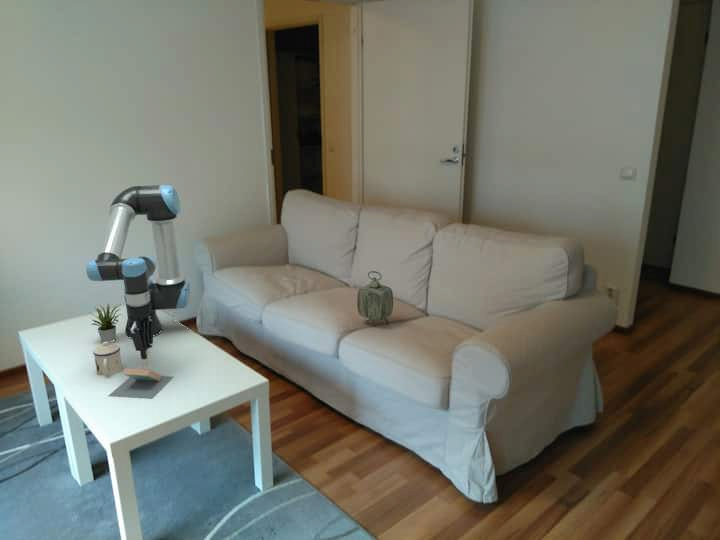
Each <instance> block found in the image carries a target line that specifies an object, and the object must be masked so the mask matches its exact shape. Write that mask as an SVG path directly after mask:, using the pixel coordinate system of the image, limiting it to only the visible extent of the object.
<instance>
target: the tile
mask: <svg viewBox="0 0 720 540" xmlns="http://www.w3.org/2000/svg"><path fill="white" fill-rule="evenodd" d="M123 375H125V376H126V377H128V378H129V377H131V378H133V379H135V380H143V381H160V378H161V376H162V375H160V374H159V373H156V372H155V371H153V370H150V369H144V368H143V369H142V368H124V372H123Z"/></svg>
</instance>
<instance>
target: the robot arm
mask: <svg viewBox="0 0 720 540" xmlns="http://www.w3.org/2000/svg"><path fill="white" fill-rule="evenodd" d="M180 205H181V202H180V199H179V196H178V192H177V190H176V188H175V187H173V186H172V185H163V184H158V185H157V184H156V185H134V186H130V187H127V188H125V189H124V190H122V191H121V192H120V193H119V194H118V195H117V196H116V197H115V198H114V199H113V200H112V202H111V204H110V207H109V215H110V217H109V219H108V223H107V226H106V230H105V234H104V236H103V238H102V242H101V246H100V249H99V252H98V256H97V258H96V259H91V260H89V261H88V262H87V263H86V269H85V270H86V275H87V278H88V279H89V280H90V281H91V282H92V281H93V282H106V281H107V282H108V281H123V285H124V286H123V287H124V293H123V294H124V302H125V308H126V314H127V320H126V324H125V325H126V326H125V329H124V332H125V336H126V335H127V336H128V337H132V338H131V339H132V342H133V346H134V349H135V351H136V352H137V351H138V352H140V360H141V366H142V367H143V368H144V367H146V368H150V367H151V366H152V365H153V364H152V358H151V350H150V349H151V348H153V342H154V341H153V339H154V336H153V335H155V336H157V335H156V334H158V333H159V332H160V331H161V330H162V331H163V325H162V323H161V321H160V319H159V317H158V315H157V310H158V311H160V310H162V311H163V310H178V309H184V308H186V307H187V306H188V304H189V301H190V290H191V289H190V288H191V287H190V286H191V285H190V282H189V281H187V280H186V278H185V276H183V275H182V274H181V271H180V263H179V262H180V261H179V254H178V248H177V247H178V245H177V239H176V238H177V237H176V231H175V223H174V221H175V220H176V219H177V217H178V216H177V215H178V214H180V211H181V206H180ZM139 215H140V216H142V215H143V216H145V215H146V219H147V220H146V221H147V222H149V223H151V228H152V234H153V241H154V248H155V256H156V260H155V259H154V258H153V257H151V256H149V255H141V256H138V257H132V258H131V257H130V258H122V255H123V251H124V247H125V244H126V241H127V237H128V234H129V231H130V230H129V229H130V227H131V224H132V223H131V222H132V221H134V220H135V218H136V216H139ZM156 262H157V263H156ZM157 268H158V269H157ZM156 269H157V270H158V278H157V279H156V280H155V283H154V281H153V279H150V278H151V276H153V275H154V273H155V271H156ZM159 334H160V333H159ZM159 334H158V335H159ZM127 336H126V337H127ZM128 337H127V338H128Z"/></svg>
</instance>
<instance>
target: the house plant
mask: <svg viewBox="0 0 720 540" xmlns="http://www.w3.org/2000/svg"><path fill="white" fill-rule="evenodd" d="M120 305H122V303H120V304H117V305H115V306H114V307H113V308H112V310H111V309H110V304H109V303H108V304H107V306H106V310H105V308H104V307H103V306H102V305H101V304H99V306H100V308H101V309H102V310H100V309H99V308H98V307H96V306H95V307H94V309H95V311H96V312H97V314H98V315H95V314H93V313H91V312H88V314H91V315H92V316H94V317H95V318H96V319H98V320H95V319H91V321H93V322H94V323H93V322H92V323H91V324H90V326H91V325H93V326H97V327H98V328H97V332H98V335H99V337H100V340H101V343H102V342H111V341H113V340H115V339H117V338H116V333H117V326H116V325H117V323H119V319H117V318H119V316H120V315H122V314H121V313H120V314H118V315H116V314H117V312H119V311H121V308H119V309H117V310H116V308H118V307H119V306H120ZM110 310H111V311H110ZM102 311H103V313H102ZM115 341H116V340H115Z"/></svg>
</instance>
